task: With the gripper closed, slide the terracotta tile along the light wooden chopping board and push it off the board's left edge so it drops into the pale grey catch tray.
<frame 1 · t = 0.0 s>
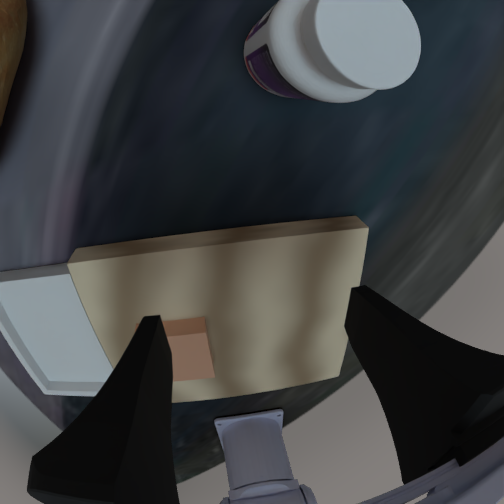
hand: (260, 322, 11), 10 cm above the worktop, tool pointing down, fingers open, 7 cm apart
catch tray: (56, 335, 22), on the worktop
terracotta tile: (176, 344, 22), point 2 cm above the worktop, touching chopping board
pill bottle: (287, 55, 16), on the worktop
chopping board: (226, 320, 24), on the worktop
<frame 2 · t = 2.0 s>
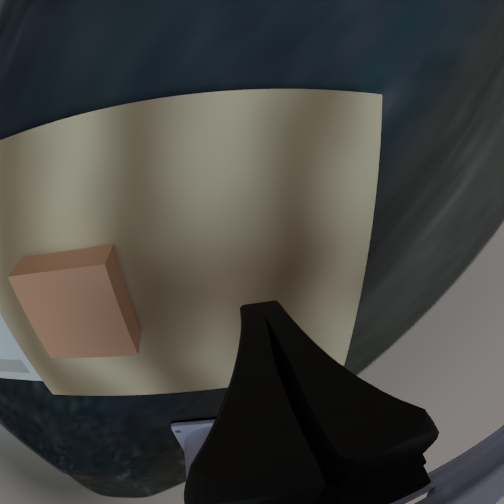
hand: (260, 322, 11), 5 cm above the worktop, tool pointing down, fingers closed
terracotta tile: (80, 297, 13), point 2 cm above the worktop, touching chopping board
chopping board: (162, 265, 15), on the worktop
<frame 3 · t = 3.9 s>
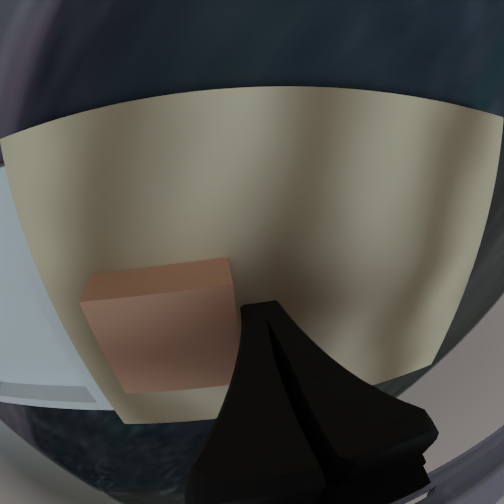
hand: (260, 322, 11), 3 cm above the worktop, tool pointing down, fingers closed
terracotta tile: (170, 320, 12), point 2 cm above the worktop, touching chopping board, gripper
chopping board: (288, 274, 14), on the worktop
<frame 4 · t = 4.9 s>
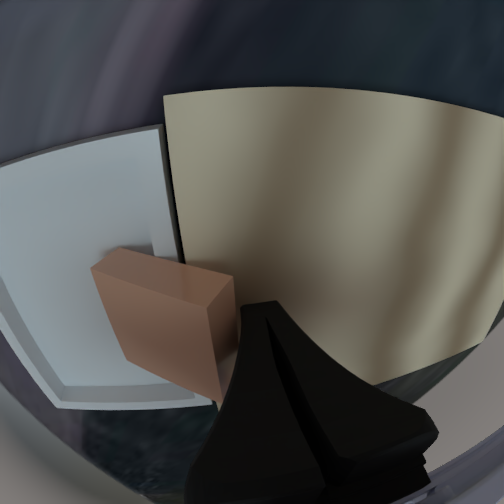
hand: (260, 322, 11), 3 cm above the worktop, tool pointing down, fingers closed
catch tray: (85, 298, 13), on the worktop
terracotta tile: (179, 314, 12), point 2 cm above the worktop, tilted 33°, touching catch tray
chopping board: (396, 258, 15), on the worktop
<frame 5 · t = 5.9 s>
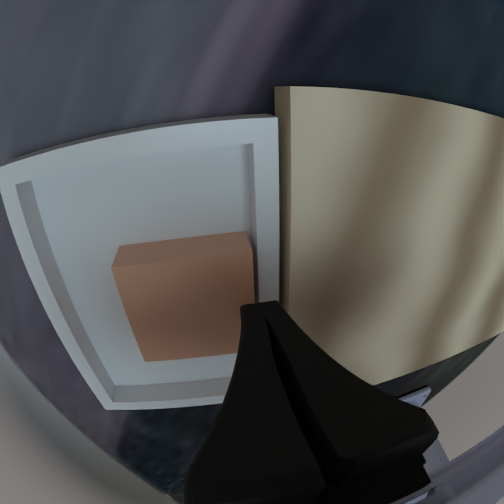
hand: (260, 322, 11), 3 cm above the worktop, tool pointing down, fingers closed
catch tray: (158, 290, 13), on the worktop
terracotta tile: (189, 290, 13), resting on catch tray
chopping board: (445, 249, 15), on the worktop
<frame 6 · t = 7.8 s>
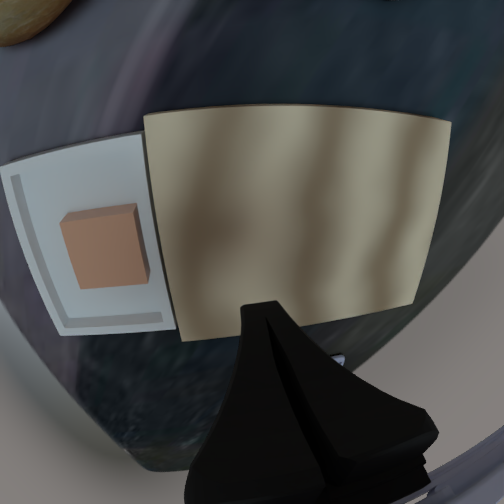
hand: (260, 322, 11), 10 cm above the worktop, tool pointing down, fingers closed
catch tray: (92, 243, 19), on the worktop
terracotta tile: (108, 242, 19), resting on catch tray
chopping board: (310, 220, 21), on the worktop
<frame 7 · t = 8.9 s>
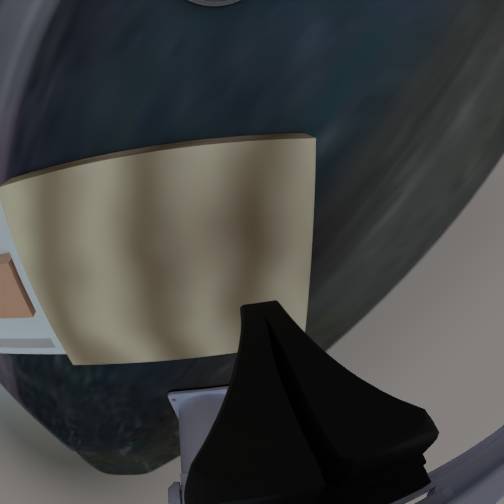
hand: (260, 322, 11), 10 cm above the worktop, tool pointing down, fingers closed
terracotta tile: (6, 281, 19), resting on catch tray
chopping board: (162, 261, 21), on the worktop
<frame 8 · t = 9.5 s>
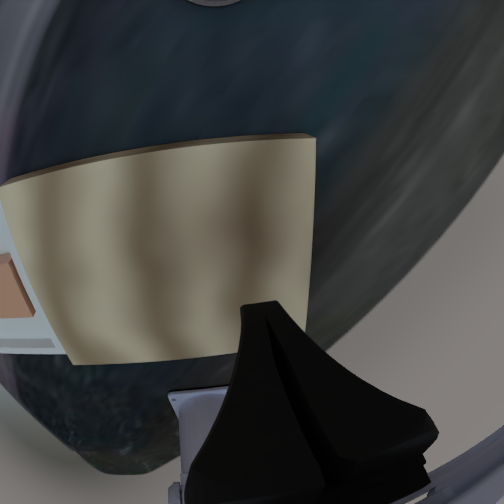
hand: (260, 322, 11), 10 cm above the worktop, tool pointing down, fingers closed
terracotta tile: (6, 281, 19), resting on catch tray
chopping board: (162, 261, 21), on the worktop
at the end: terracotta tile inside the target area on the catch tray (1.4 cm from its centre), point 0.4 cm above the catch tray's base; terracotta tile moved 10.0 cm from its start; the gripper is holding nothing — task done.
